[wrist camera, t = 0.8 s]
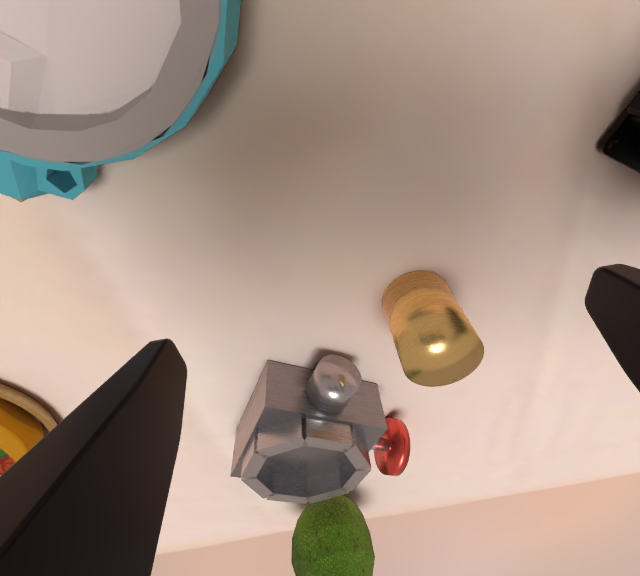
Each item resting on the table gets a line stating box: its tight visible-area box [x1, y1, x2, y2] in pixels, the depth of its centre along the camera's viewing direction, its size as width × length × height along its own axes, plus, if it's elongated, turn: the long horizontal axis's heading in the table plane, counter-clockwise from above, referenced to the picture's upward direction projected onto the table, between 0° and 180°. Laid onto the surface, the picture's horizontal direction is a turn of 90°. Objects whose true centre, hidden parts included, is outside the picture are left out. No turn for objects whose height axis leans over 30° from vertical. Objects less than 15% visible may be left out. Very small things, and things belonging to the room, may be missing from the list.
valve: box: [231, 355, 410, 504], centre depth 28 cm, size 13×14×6 cm
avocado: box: [292, 495, 375, 576], centre depth 35 cm, size 8×8×12 cm
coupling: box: [382, 271, 484, 387], centre depth 22 cm, size 4×4×6 cm
